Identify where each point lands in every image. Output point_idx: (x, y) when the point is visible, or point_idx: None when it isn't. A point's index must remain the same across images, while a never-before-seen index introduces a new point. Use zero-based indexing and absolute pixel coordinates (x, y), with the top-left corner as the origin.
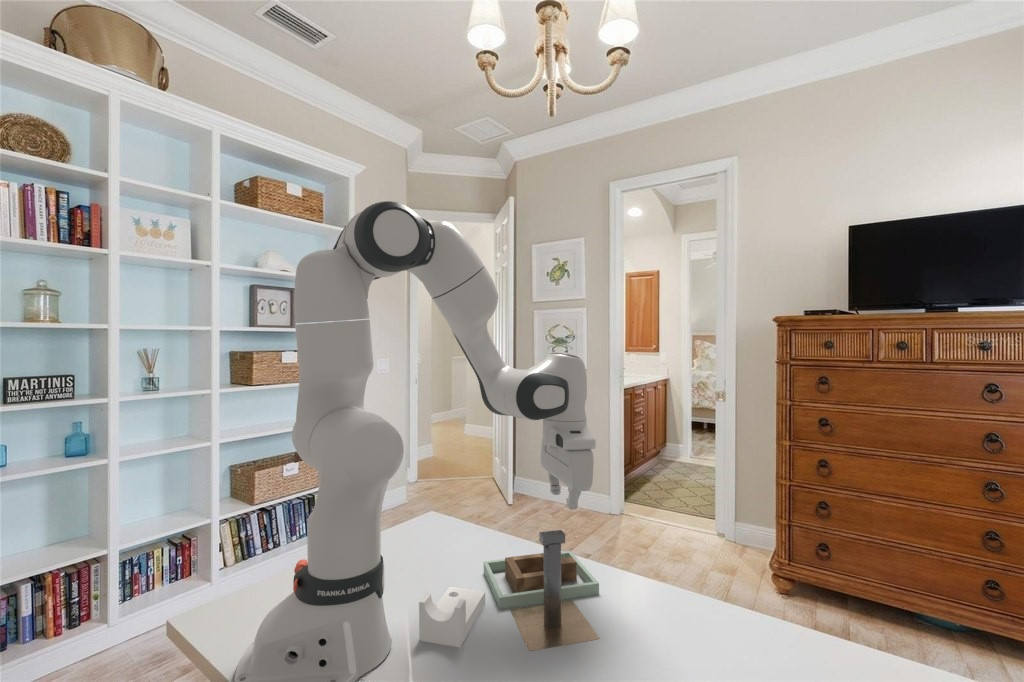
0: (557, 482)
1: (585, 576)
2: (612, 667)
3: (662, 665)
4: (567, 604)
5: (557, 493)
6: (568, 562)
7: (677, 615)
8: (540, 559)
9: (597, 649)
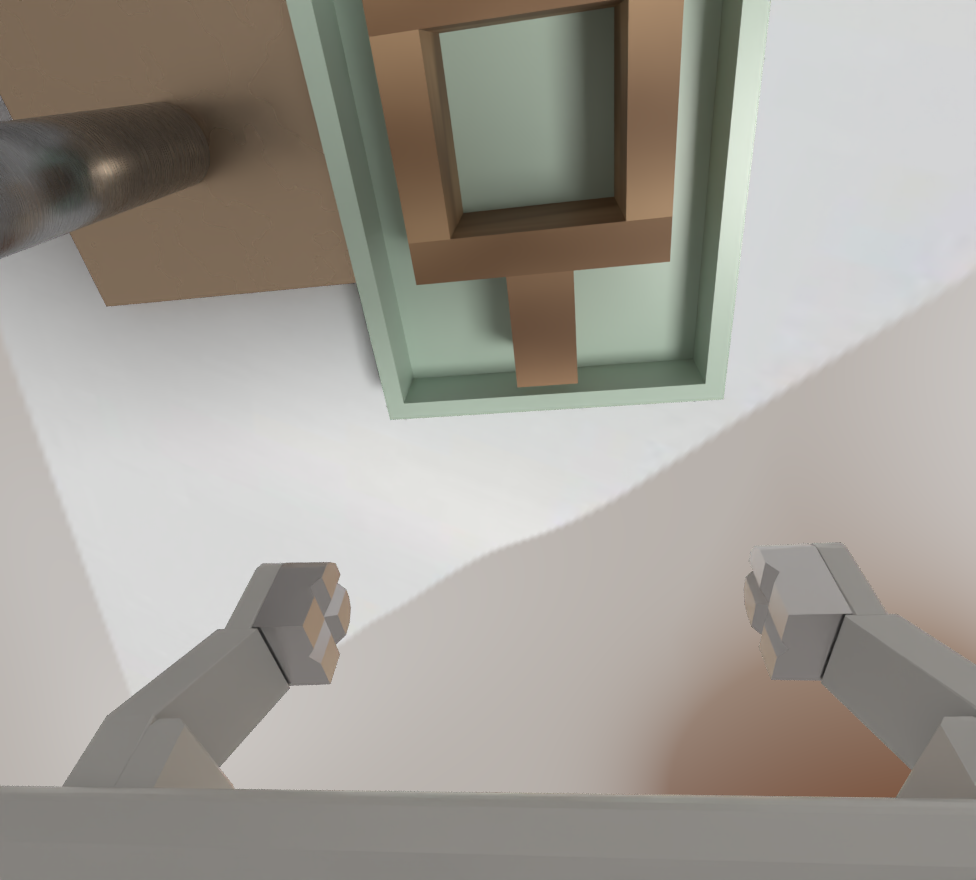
0: (854, 697)
1: (489, 389)
2: (14, 299)
3: (65, 432)
4: (319, 252)
5: (751, 586)
6: (520, 349)
7: (305, 555)
8: (623, 207)
9: (93, 282)
